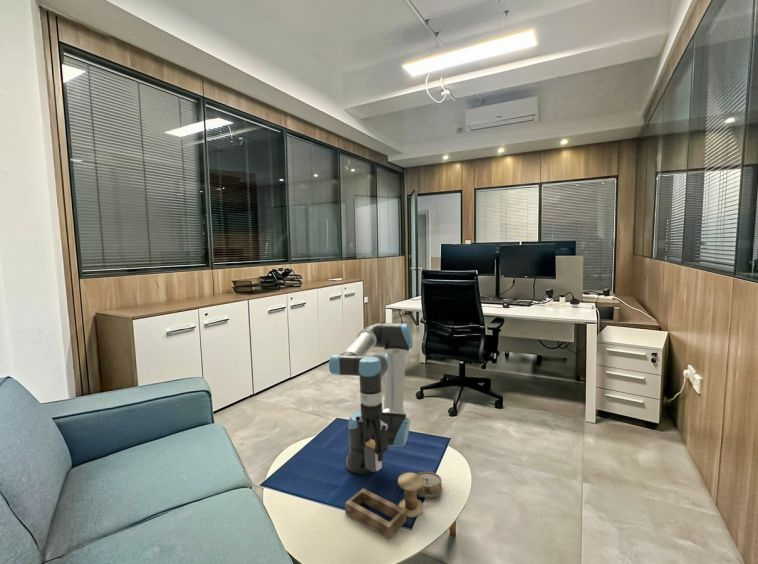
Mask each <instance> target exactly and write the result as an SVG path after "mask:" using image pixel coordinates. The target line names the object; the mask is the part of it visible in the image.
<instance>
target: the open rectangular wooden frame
mask: <svg viewBox="0 0 758 564" xmlns="http://www.w3.org/2000/svg"><path fill="white" fill-rule="evenodd" d="M362 503H363V504H364V505H367V506H368V507H371V508H373V509H374V510H376V511H378V512H380V513H382V514H384V515H386V516H388V517H389V518H391V520H386V519H385V518H383V517H381V516H379V515H378V514H376V513H374V512H372V511H370V510H368V509H366V508H365V507H363V506H361V504H362ZM344 506H345V507H344V508H345V509H344V510H345V514H346V515H348V516H349V517H352V518H353V519H355V520H357V521H358V522H359V523H362V524H363V525H365V526H367V527H369V528H370V529H372V530H374V531H375V532H378V533H379V534H381V535H382V536H384V537H386V538H387V539H391V538H392V537H393V536H394V534H396V533H397V532H398V530H399V529H400V528H401V527H403V525H404V523H405V524H406V522H407V517H406V510H405V509H403V508H401V507H399V505H397V504H396V503H393V502H392V501H389V500H387V499H385V498H383V497H381V496H379V495H377V494H375V493H373V492H372V491H370V490H368V489H366V488H362V489H361V490H359V491H357V492H356V493H355V494H354V495H353V496H352V497H350V498H349V499H348V500H347V501H346V502H344Z"/></svg>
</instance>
